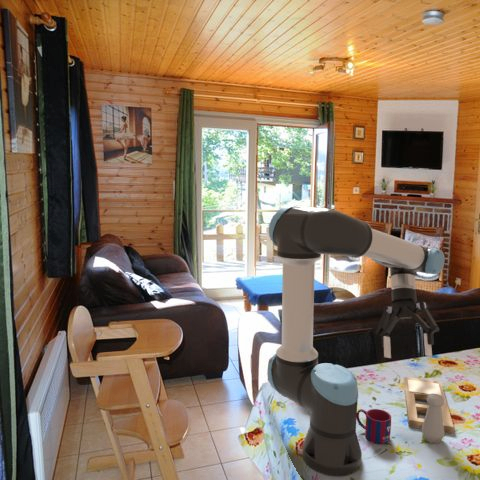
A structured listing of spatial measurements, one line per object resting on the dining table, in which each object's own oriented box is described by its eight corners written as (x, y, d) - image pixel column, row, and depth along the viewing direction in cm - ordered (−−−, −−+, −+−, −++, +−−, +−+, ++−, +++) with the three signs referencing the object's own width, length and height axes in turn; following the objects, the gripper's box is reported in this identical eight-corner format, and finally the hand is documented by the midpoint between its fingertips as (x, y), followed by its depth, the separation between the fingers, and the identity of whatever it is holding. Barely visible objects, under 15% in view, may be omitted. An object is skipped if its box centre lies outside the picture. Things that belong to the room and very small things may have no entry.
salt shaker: (416, 435, 126) (419, 392, 125) (433, 432, 128) (436, 389, 126) (431, 447, 121) (434, 402, 119) (448, 443, 123) (451, 399, 121)
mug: (380, 447, 121) (382, 424, 120) (350, 431, 128) (351, 409, 127) (394, 438, 125) (396, 416, 124) (364, 423, 132) (366, 401, 131)
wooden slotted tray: (408, 426, 131) (408, 418, 131) (403, 382, 159) (404, 376, 159) (453, 433, 127) (453, 426, 127) (440, 387, 156) (440, 380, 155)
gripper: (447, 286, 138) (453, 357, 130) (376, 297, 156) (378, 359, 148) (435, 281, 133) (441, 353, 126) (363, 292, 151) (365, 356, 144)
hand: (407, 356), depth 137 cm, fingers open, 13 cm apart
